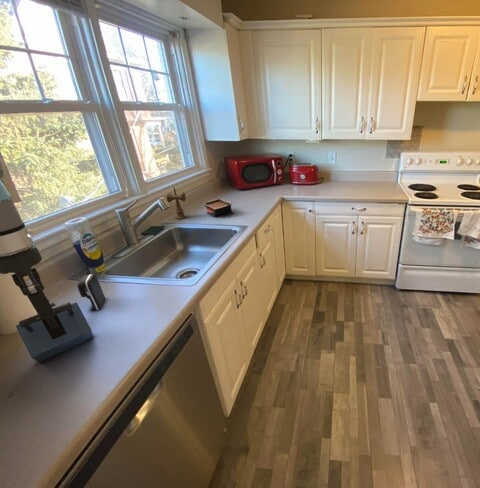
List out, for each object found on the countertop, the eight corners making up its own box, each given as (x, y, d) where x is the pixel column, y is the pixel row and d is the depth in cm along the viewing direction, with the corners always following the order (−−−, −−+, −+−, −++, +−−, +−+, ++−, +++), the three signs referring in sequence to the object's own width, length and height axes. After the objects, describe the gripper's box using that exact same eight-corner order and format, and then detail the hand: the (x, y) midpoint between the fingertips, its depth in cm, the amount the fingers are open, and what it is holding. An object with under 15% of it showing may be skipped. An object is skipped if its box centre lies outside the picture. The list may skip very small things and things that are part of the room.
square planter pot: (214, 222, 173) (213, 207, 168) (202, 211, 183) (201, 197, 178) (235, 218, 182) (235, 204, 177) (223, 208, 192) (223, 194, 188)
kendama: (174, 217, 176) (166, 185, 167) (190, 216, 178) (183, 185, 169) (171, 220, 171) (163, 188, 162) (188, 219, 172) (180, 187, 164)
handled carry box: (39, 362, 75) (24, 333, 76) (93, 337, 83) (79, 311, 84) (23, 352, 62) (5, 317, 62) (89, 323, 70) (73, 292, 71)
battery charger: (93, 301, 99) (81, 274, 94) (106, 298, 100) (94, 271, 95) (87, 313, 93) (73, 284, 88) (101, 310, 94) (88, 282, 89)
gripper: (40, 253, 58) (85, 338, 68) (29, 235, 66) (70, 313, 76) (-13, 267, 53) (44, 358, 63) (-18, 246, 61) (33, 329, 71)
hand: (58, 333), depth 70 cm, fingers closed on handled carry box, 2 cm apart
